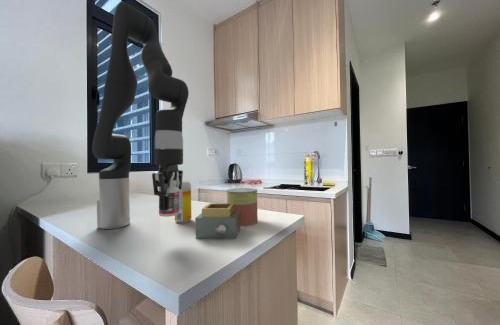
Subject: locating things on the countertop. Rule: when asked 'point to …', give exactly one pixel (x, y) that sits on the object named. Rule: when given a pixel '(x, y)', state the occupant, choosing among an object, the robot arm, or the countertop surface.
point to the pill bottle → (171, 201)
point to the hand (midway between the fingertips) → (169, 207)
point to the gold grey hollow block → (218, 221)
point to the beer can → (184, 203)
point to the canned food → (244, 204)
